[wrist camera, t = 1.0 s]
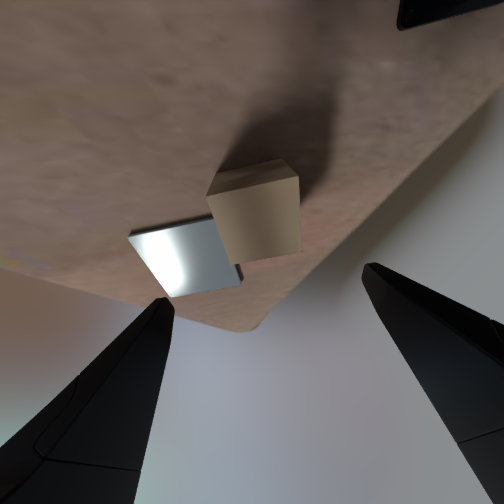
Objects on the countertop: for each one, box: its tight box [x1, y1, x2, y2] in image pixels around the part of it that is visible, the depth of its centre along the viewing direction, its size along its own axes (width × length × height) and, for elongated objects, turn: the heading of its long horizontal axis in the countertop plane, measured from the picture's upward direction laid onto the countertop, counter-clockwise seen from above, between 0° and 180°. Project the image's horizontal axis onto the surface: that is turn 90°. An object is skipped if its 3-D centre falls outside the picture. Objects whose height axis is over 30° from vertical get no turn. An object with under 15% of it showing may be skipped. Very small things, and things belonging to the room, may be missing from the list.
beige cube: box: [206, 158, 302, 265], centre depth 16 cm, size 6×6×6 cm
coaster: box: [127, 217, 241, 297], centre depth 22 cm, size 10×10×1 cm
